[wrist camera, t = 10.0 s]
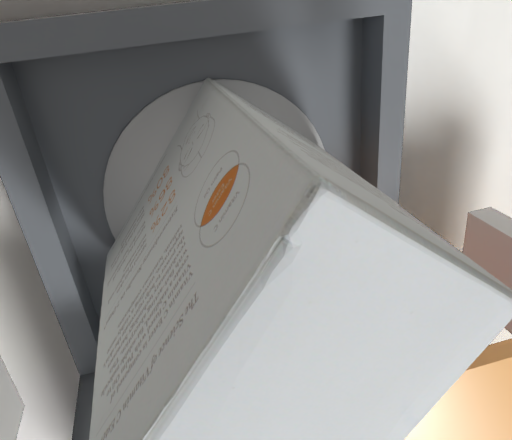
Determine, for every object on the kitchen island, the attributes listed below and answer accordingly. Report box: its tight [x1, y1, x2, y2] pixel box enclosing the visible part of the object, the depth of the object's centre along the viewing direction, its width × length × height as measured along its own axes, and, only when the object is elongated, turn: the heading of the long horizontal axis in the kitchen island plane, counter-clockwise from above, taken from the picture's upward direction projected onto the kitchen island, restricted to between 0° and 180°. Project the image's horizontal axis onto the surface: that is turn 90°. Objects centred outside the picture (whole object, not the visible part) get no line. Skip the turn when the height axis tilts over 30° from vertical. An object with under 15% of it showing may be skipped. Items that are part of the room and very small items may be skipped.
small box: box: [89, 78, 512, 440], centre depth 13 cm, size 8×6×10 cm
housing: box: [0, 0, 412, 440], centre depth 18 cm, size 14×25×6 cm, turn 6°
